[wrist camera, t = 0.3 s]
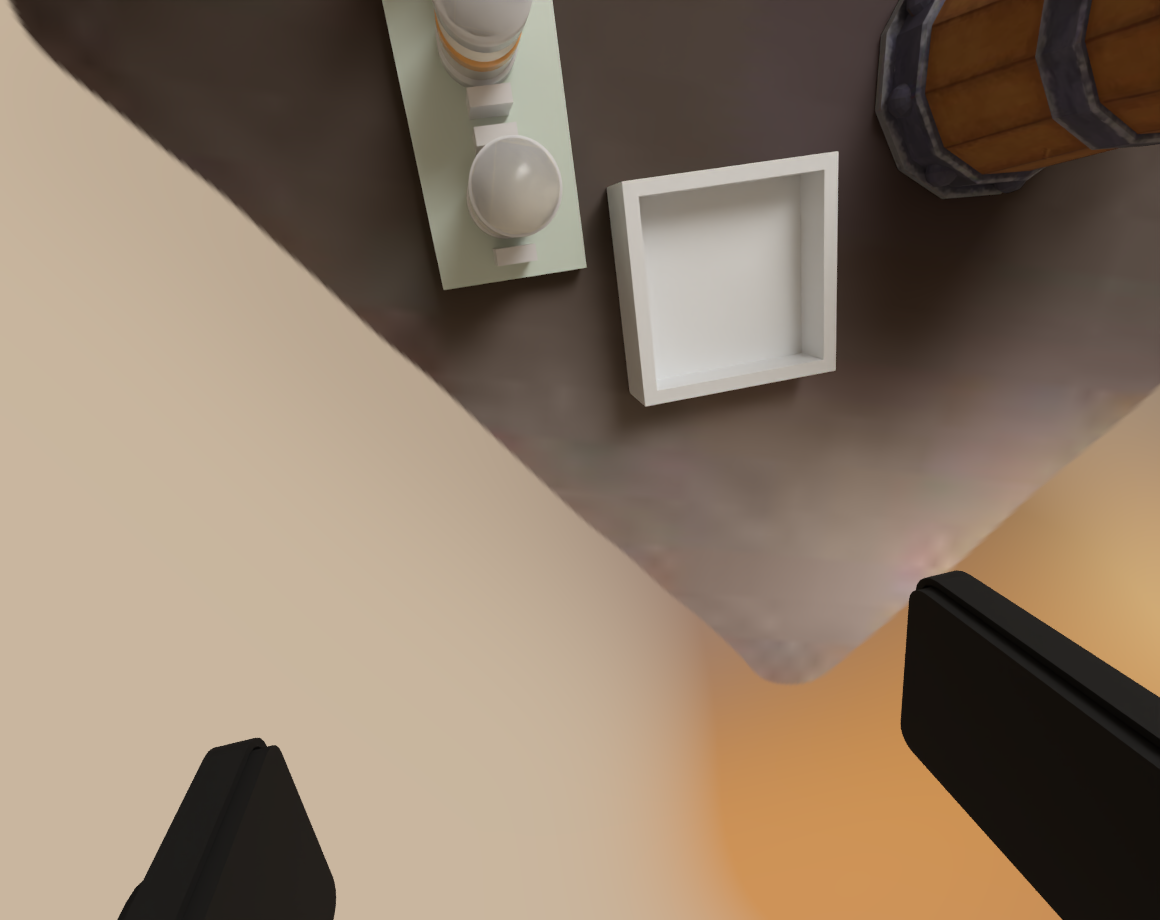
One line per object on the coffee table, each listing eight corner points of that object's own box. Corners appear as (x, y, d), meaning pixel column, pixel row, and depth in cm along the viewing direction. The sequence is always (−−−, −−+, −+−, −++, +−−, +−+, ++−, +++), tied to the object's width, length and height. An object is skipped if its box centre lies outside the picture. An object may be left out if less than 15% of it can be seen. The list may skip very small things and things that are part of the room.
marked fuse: (428, 3, 29) (417, -82, 21) (508, -5, 29) (525, -90, 22) (446, 94, 30) (441, 45, 23) (521, 85, 30) (542, 34, 23)
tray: (606, 187, 34) (621, 181, 31) (803, 159, 36) (838, 151, 32) (629, 392, 38) (645, 406, 35) (805, 360, 40) (835, 370, 37)
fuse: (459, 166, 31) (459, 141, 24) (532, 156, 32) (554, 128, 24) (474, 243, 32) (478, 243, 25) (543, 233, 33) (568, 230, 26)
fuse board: (334, -228, 26) (311, -316, 22) (515, -237, 28) (525, -323, 23) (444, 288, 34) (442, 294, 30) (581, 266, 35) (598, 269, 31)
